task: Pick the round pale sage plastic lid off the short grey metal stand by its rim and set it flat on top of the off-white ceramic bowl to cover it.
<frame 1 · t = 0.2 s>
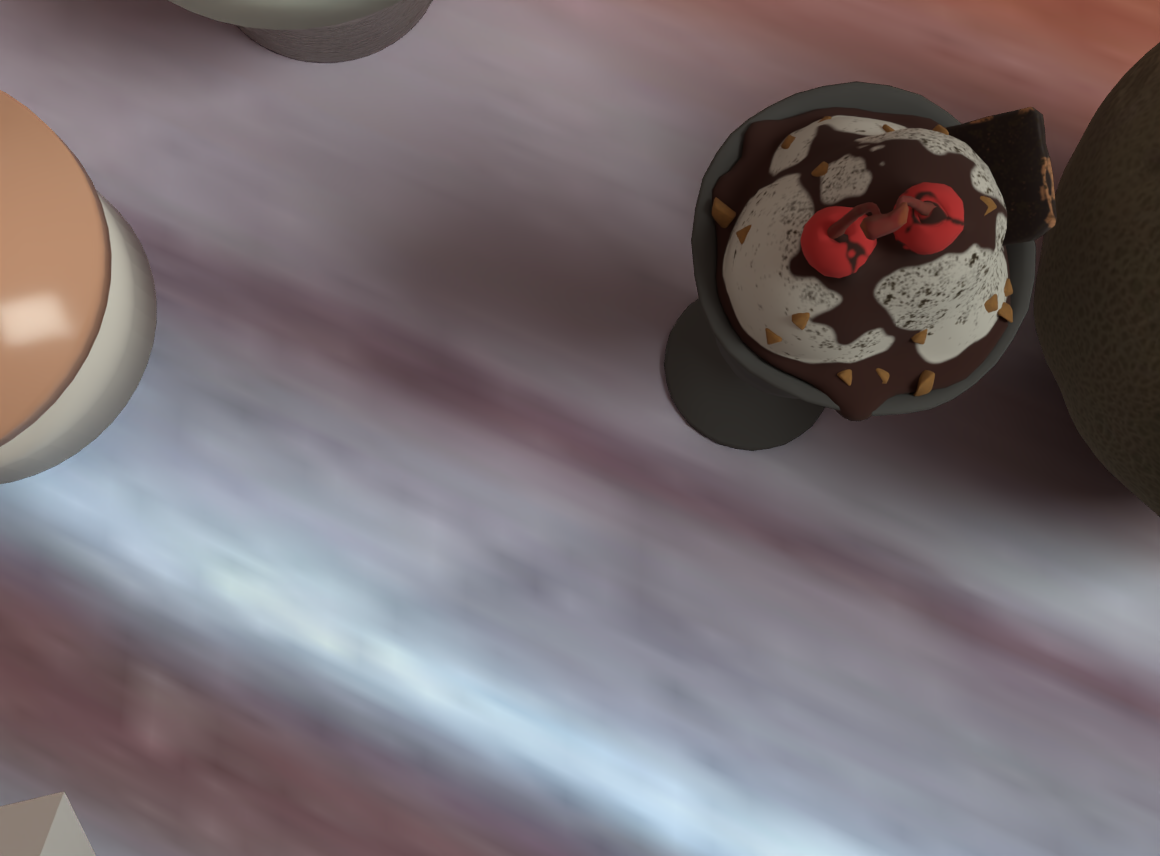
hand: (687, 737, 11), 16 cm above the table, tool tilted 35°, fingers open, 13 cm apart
bowl: (12, 333, 28), on the table
sundae: (746, 370, 29), on the table
cantaloupe: (1156, 370, 30), on the table
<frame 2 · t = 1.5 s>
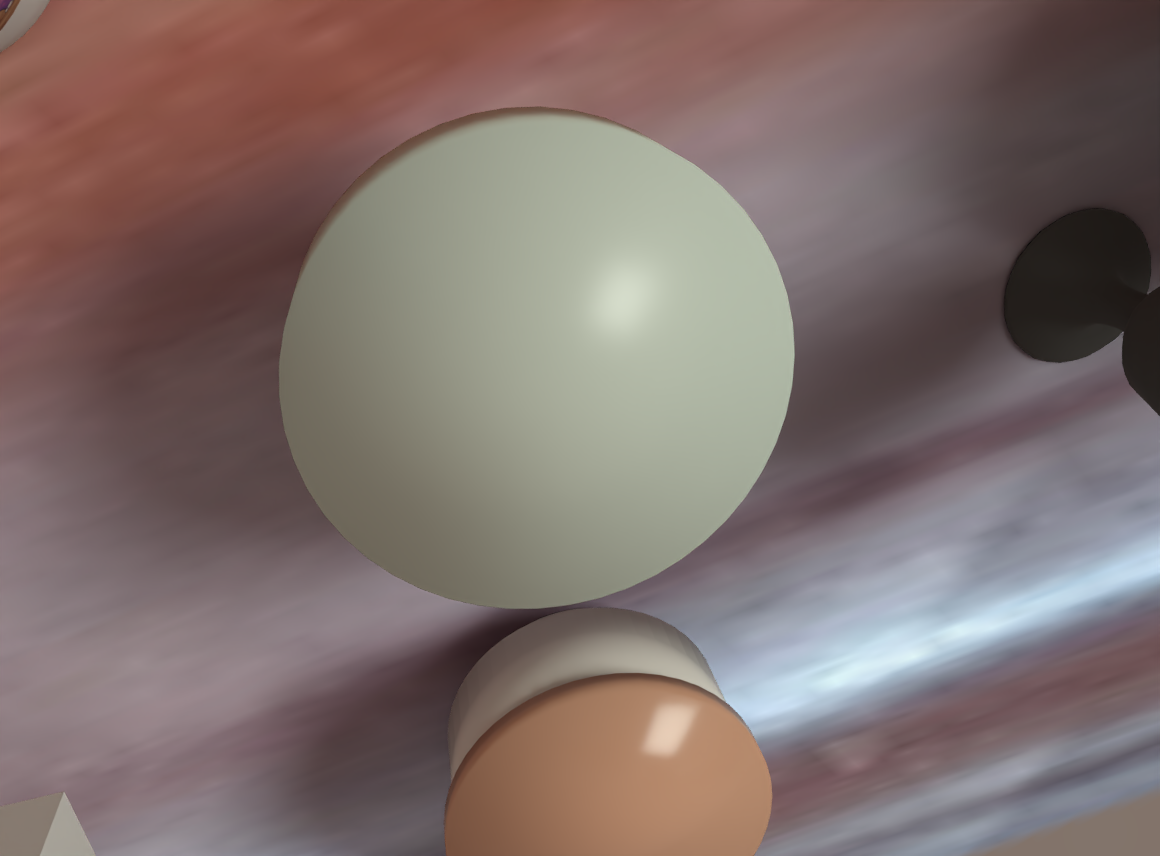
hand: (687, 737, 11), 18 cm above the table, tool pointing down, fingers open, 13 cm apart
lid: (531, 351, 23), point 5 cm above the table, touching lid stand
bowl: (577, 694, 34), on the table
sundae: (1072, 286, 31), on the table
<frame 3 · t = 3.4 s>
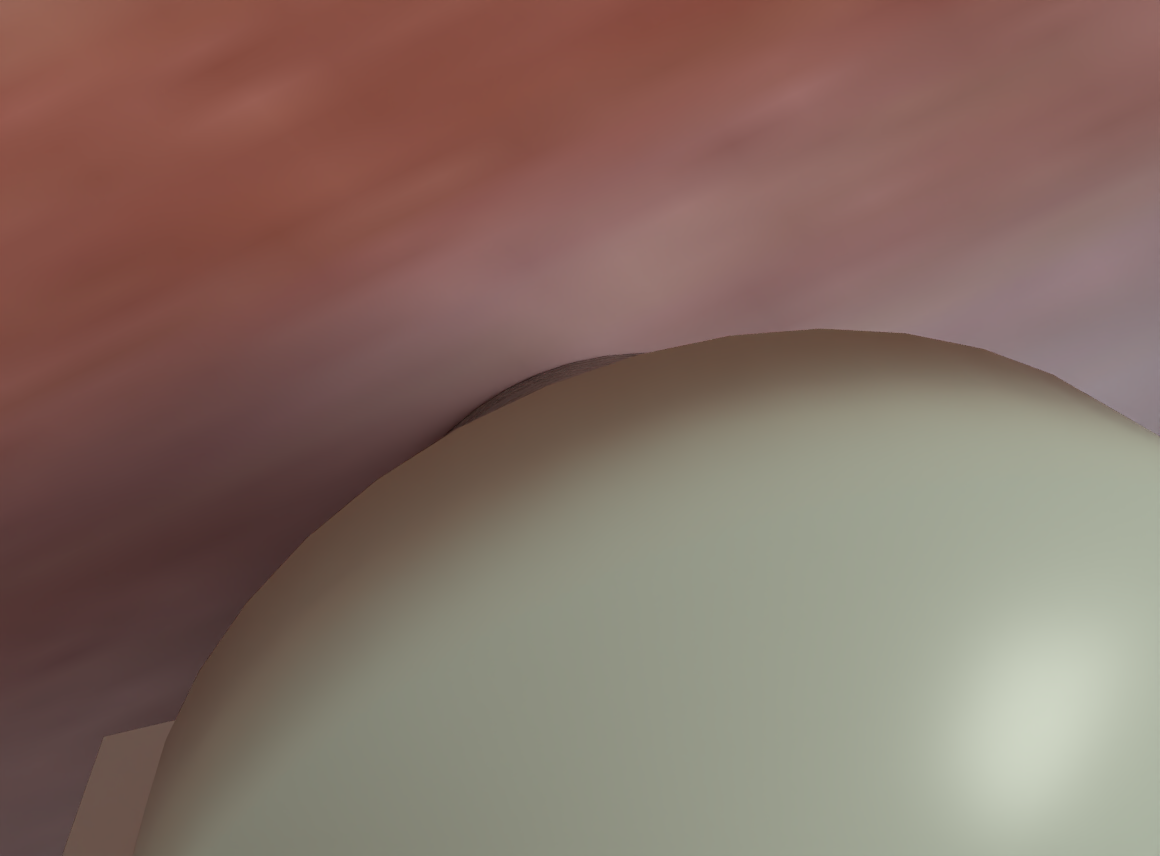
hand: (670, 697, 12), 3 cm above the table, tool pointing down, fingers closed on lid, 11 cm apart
lid stand: (622, 583, 14), on the table
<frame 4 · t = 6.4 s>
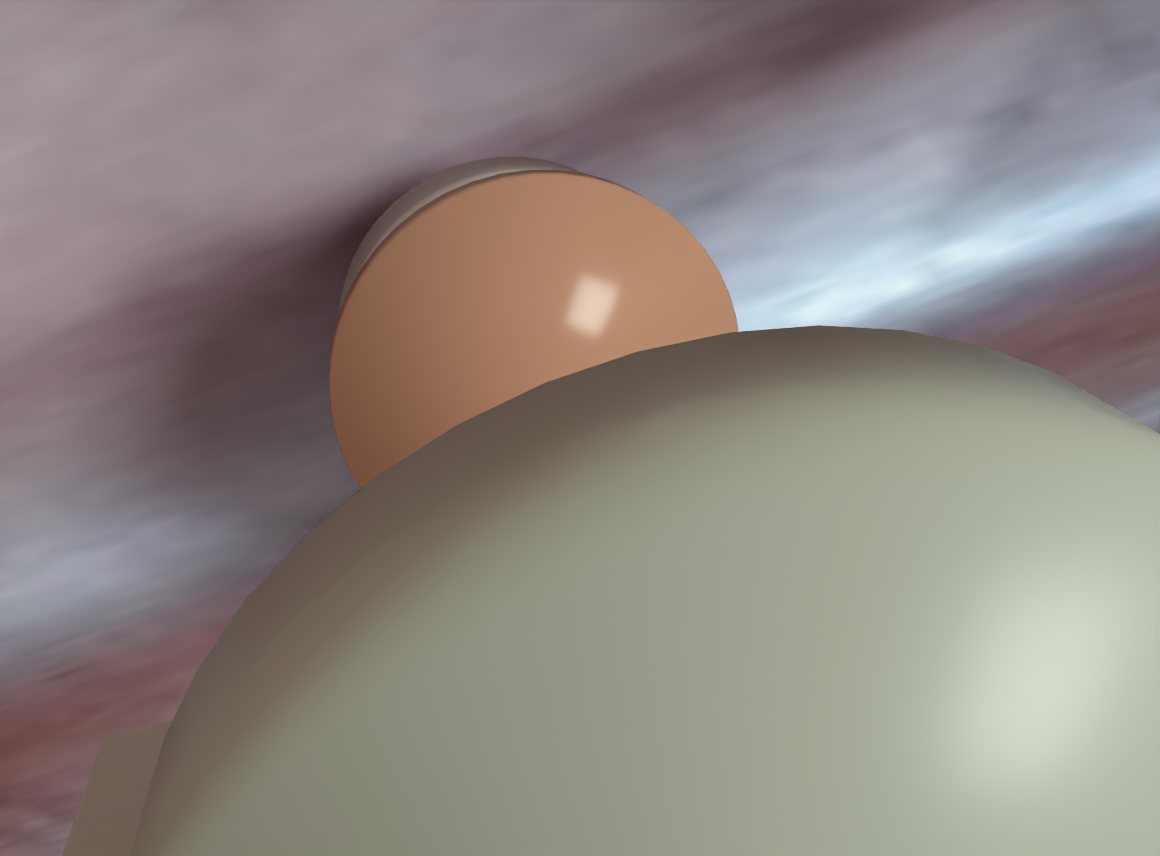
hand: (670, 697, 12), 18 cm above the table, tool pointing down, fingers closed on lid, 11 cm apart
bowl: (500, 310, 28), on the table
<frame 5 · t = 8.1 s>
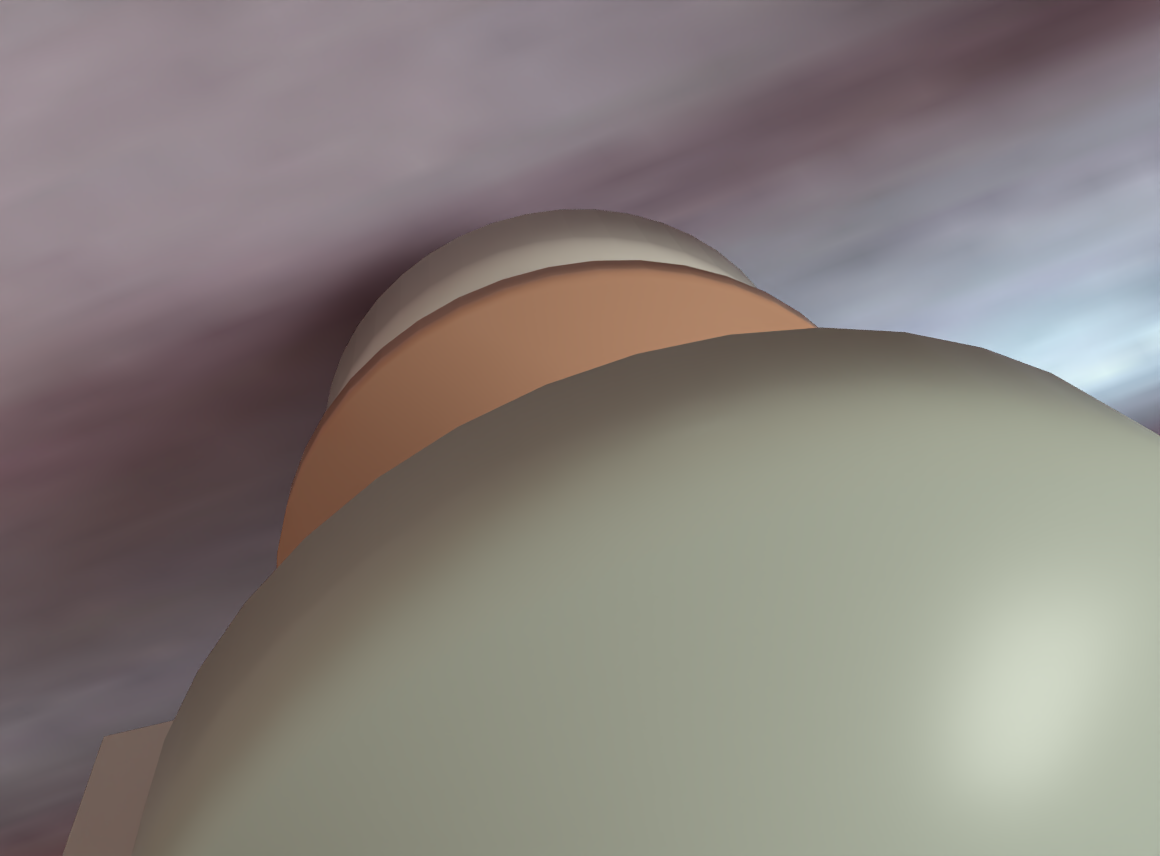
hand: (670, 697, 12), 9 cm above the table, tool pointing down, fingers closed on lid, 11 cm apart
bowl: (559, 409, 20), on the table
when the fingers open (6 cm above the table, at t = 9.5 s): lid drops 2 cm, resting on bowl.
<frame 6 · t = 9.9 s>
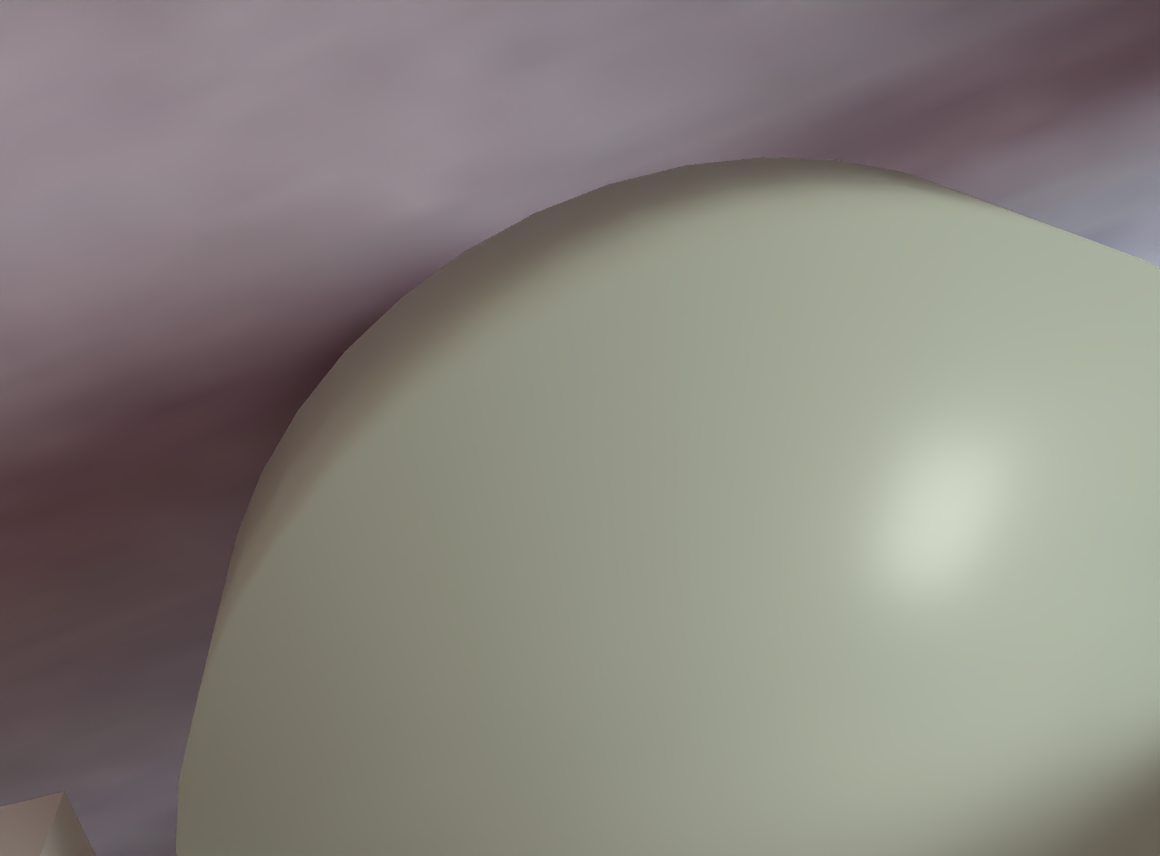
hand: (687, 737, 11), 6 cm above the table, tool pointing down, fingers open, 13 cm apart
lid: (726, 650, 11), point 6 cm above the table, touching bowl
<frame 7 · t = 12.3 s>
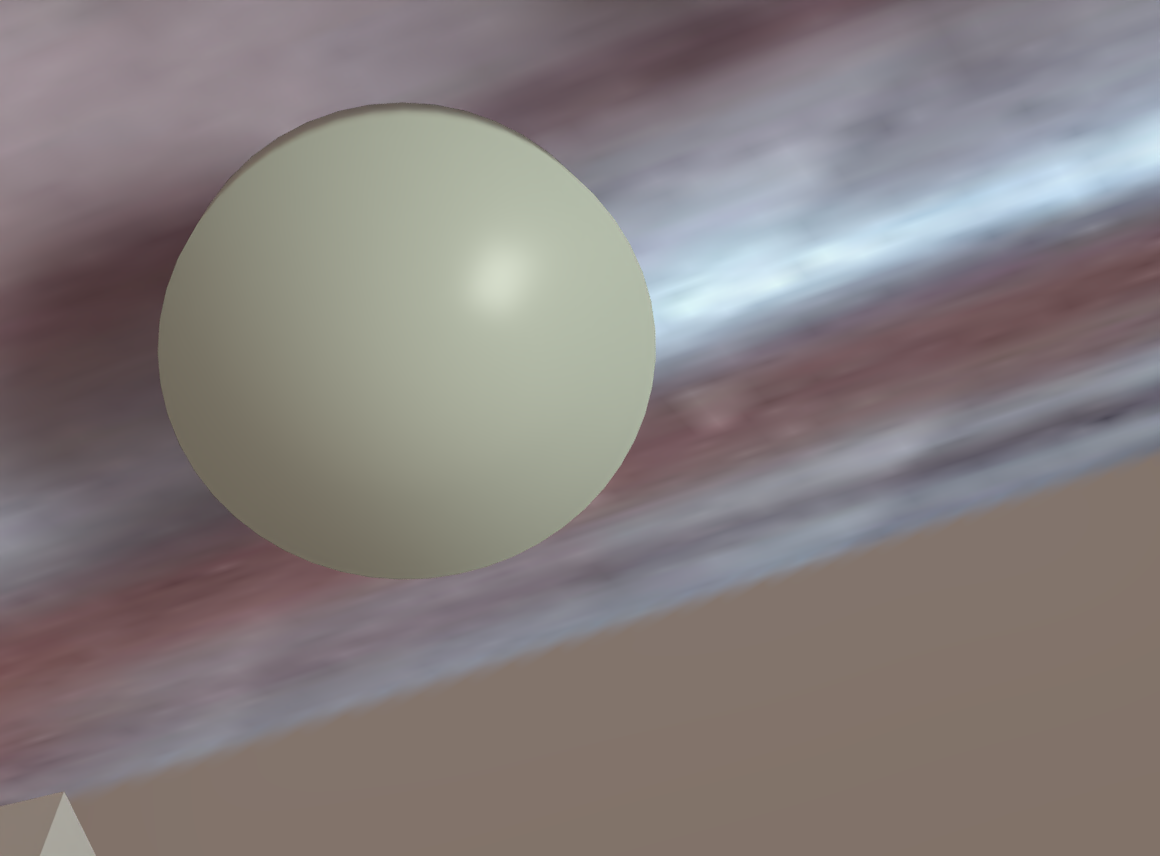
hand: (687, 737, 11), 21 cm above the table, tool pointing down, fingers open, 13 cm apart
lid: (413, 334, 25), point 6 cm above the table, touching bowl
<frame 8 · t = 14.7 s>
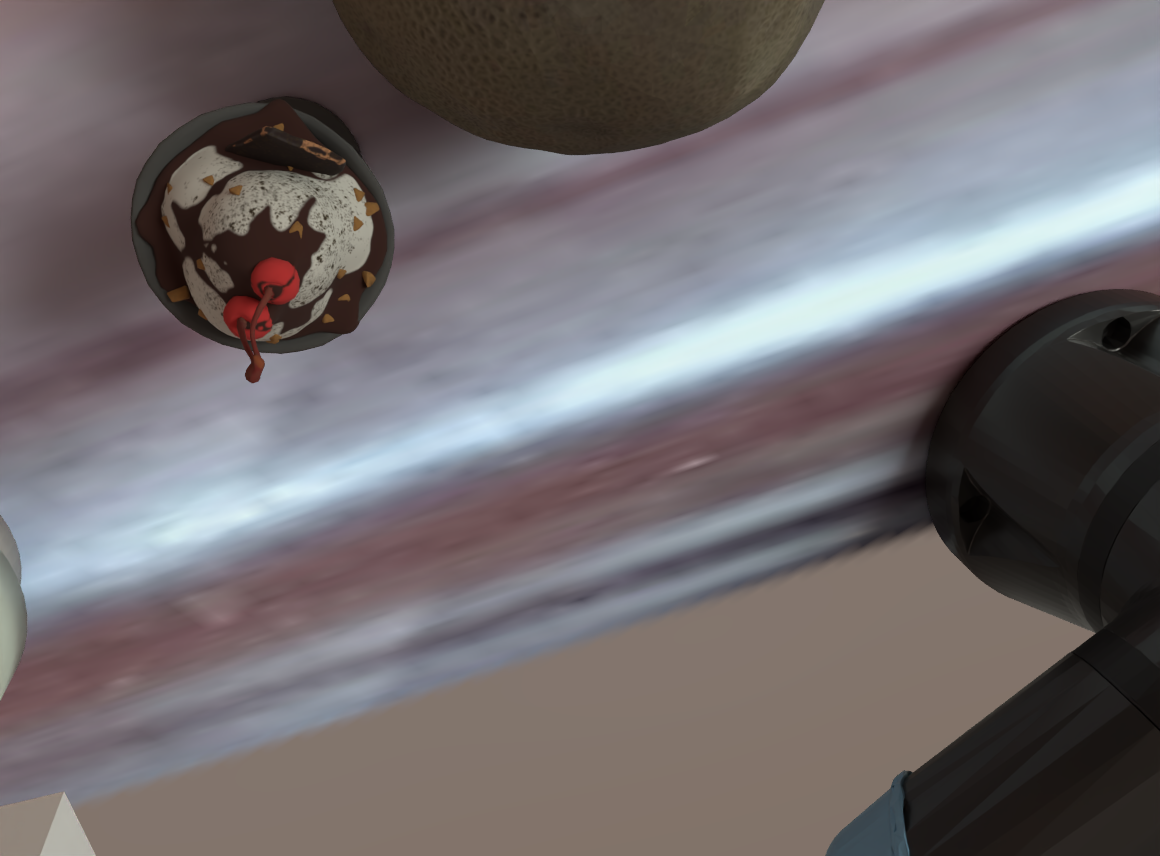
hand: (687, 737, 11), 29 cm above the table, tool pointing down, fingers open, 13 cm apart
sundae: (293, 169, 36), on the table
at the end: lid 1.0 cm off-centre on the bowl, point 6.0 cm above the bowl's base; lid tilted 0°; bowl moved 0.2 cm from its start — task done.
